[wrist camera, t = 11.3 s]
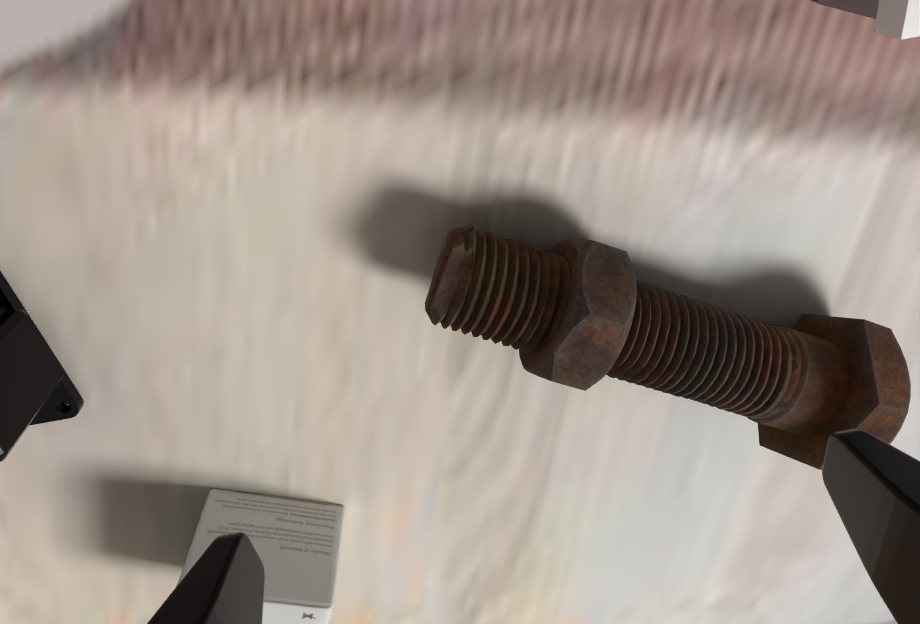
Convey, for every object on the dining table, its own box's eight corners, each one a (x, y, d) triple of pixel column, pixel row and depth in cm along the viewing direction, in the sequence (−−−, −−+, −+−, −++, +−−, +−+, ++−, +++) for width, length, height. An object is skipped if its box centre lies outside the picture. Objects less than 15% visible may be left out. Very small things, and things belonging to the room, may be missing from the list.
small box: (207, 483, 26) (170, 594, 22) (348, 501, 27) (338, 610, 23) (198, 570, 29) (164, 682, 25) (327, 583, 30) (314, 693, 26)
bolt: (445, 200, 22) (804, 321, 25) (402, 341, 22) (767, 444, 25) (486, 176, 16) (942, 336, 20) (429, 366, 17) (895, 494, 20)
